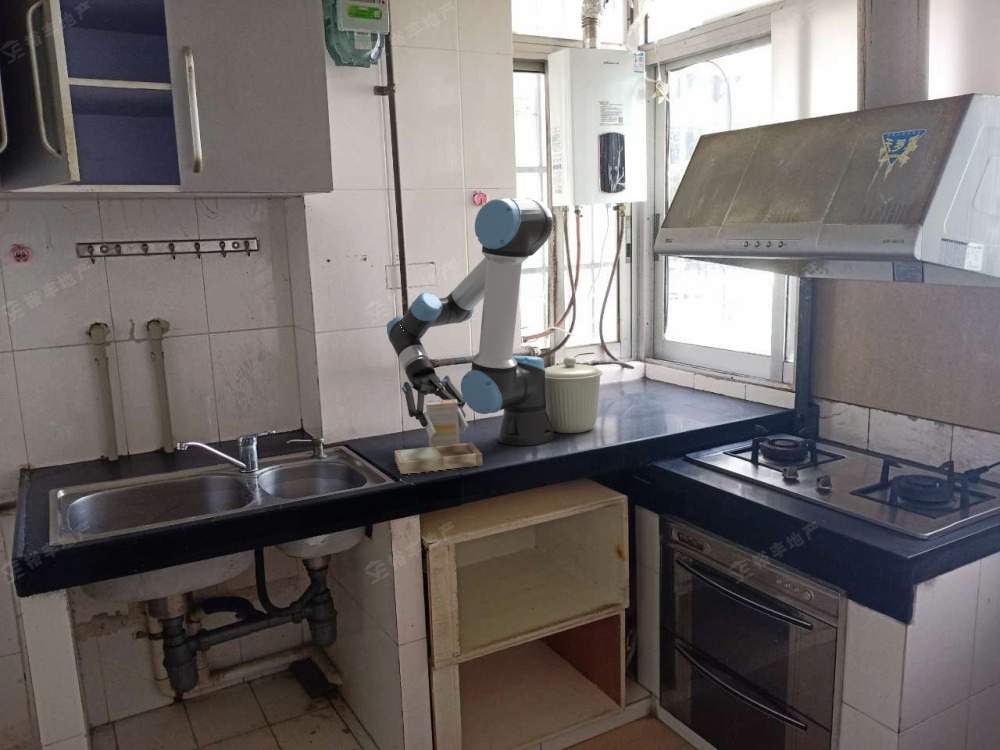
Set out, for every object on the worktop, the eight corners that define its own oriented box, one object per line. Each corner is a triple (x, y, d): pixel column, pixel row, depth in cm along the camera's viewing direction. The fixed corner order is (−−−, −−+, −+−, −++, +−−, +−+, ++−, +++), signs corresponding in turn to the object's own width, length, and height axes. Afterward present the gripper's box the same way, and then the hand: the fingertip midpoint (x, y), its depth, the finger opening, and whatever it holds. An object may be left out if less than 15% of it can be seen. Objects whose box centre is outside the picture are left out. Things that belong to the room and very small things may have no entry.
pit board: (472, 453, 207) (471, 441, 206) (482, 466, 195) (481, 453, 195) (395, 462, 202) (394, 449, 202) (400, 475, 191) (400, 462, 190)
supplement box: (460, 446, 214) (458, 398, 212) (460, 451, 210) (457, 402, 208) (429, 447, 214) (427, 400, 212) (428, 452, 210) (425, 403, 207)
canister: (528, 428, 231) (525, 356, 228) (581, 419, 239) (579, 349, 236) (561, 440, 215) (559, 363, 212) (616, 430, 224) (615, 356, 220)
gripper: (447, 368, 227) (479, 433, 217) (377, 379, 215) (408, 447, 205) (455, 352, 222) (489, 417, 212) (384, 361, 210) (416, 431, 200)
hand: (449, 432), depth 208 cm, fingers closed on supplement box, 9 cm apart
